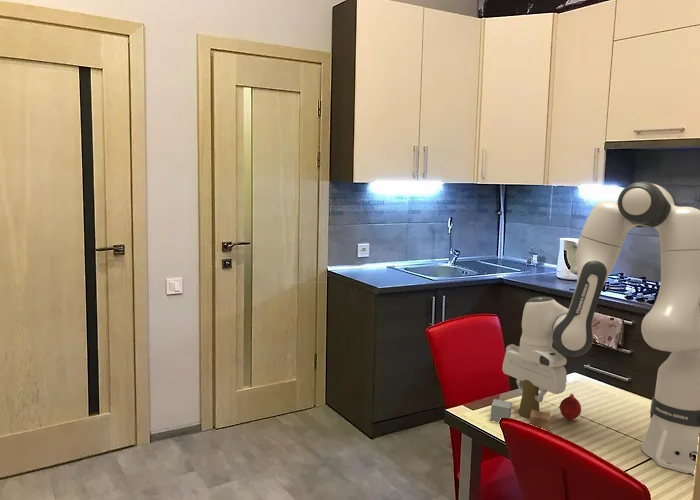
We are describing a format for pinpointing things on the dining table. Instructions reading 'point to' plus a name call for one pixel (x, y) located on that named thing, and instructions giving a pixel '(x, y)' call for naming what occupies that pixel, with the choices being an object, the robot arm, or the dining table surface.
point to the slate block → (500, 410)
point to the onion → (570, 408)
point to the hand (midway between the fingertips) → (530, 397)
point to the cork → (528, 399)
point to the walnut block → (540, 419)
